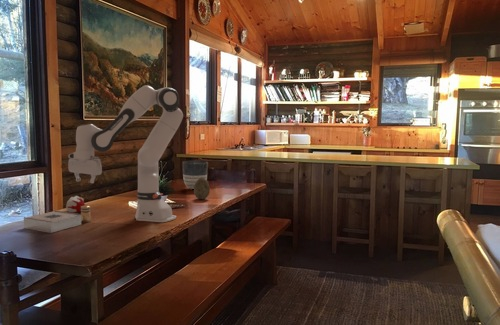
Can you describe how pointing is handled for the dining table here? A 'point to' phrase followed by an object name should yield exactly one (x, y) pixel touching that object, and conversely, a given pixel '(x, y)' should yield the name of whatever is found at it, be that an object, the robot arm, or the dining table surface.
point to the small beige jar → (85, 214)
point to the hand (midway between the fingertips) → (85, 182)
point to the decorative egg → (201, 188)
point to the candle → (75, 204)
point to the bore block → (52, 221)
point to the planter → (194, 172)
